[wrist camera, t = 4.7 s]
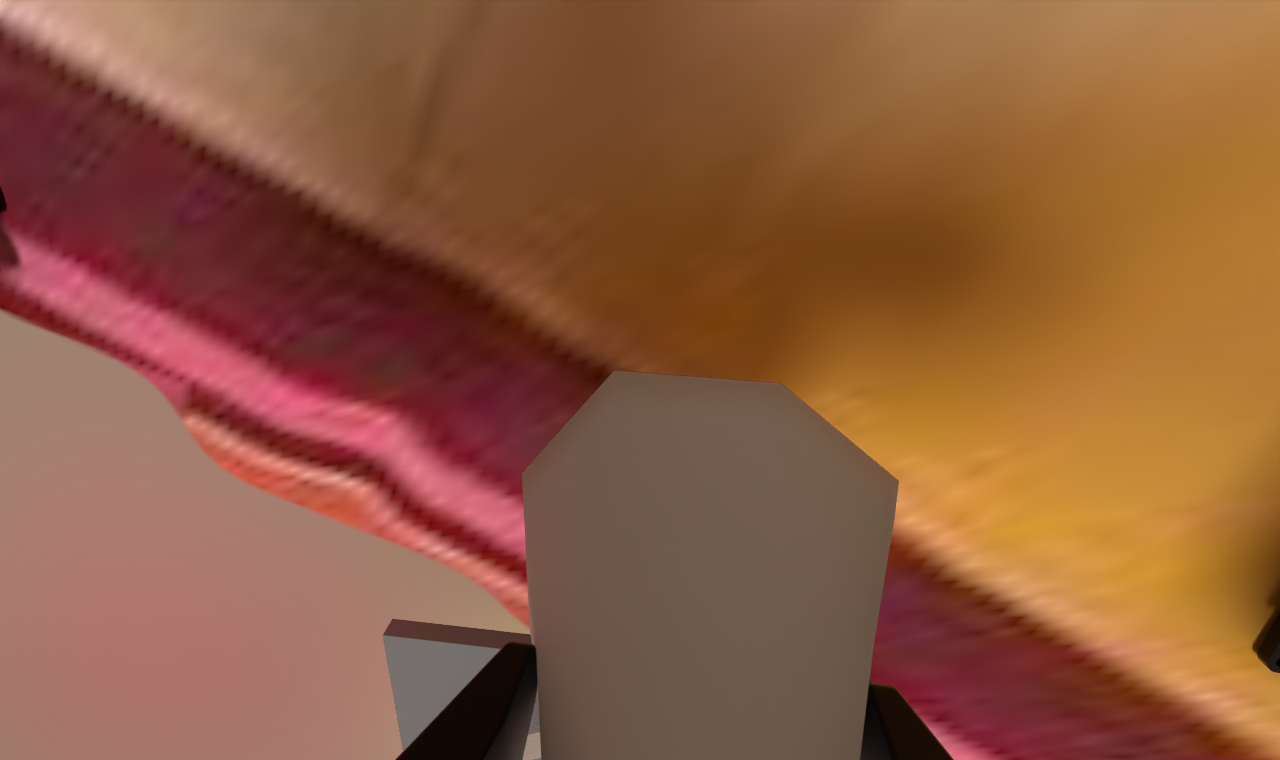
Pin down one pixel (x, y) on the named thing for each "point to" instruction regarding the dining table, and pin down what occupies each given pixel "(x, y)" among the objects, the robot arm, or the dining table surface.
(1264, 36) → the dining table surface
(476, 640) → the rubber mat
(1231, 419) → the dining table surface
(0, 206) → the valve
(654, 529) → the flask
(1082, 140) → the dining table surface
